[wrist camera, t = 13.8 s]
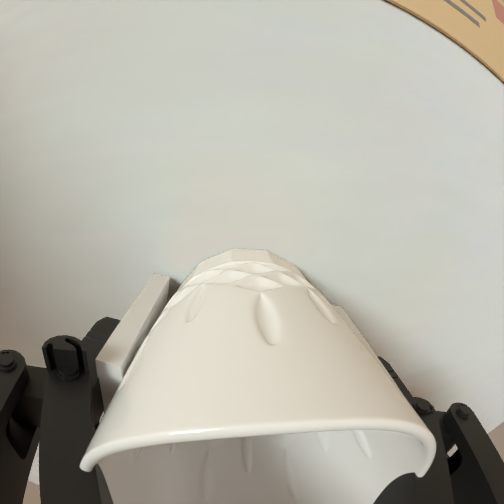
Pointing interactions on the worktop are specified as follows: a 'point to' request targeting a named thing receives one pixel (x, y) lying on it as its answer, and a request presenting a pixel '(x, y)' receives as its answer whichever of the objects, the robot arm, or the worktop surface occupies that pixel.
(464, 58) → the worktop surface
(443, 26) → the envelope
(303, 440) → the white cup
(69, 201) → the worktop surface
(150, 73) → the worktop surface
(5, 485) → the robot arm
